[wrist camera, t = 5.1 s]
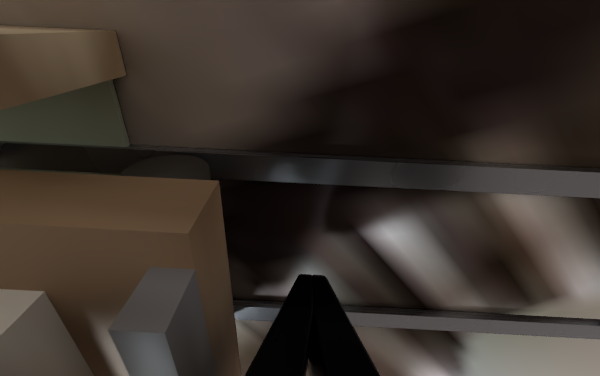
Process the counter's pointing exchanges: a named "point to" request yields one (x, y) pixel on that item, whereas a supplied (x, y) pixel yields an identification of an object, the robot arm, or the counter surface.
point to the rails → (351, 174)
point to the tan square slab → (116, 273)
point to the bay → (60, 87)
